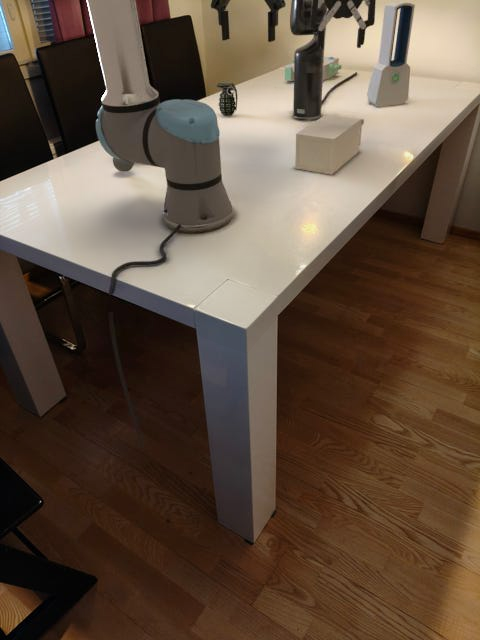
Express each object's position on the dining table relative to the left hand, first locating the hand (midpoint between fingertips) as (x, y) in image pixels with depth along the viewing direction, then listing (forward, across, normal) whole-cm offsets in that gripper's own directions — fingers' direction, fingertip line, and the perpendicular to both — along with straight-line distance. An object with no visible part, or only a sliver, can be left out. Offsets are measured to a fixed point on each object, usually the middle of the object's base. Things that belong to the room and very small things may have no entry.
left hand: (248, 40), depth 129 cm
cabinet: (+27, -26, +5) cm, 38 cm away
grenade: (+27, +21, -23) cm, 41 cm away
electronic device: (+27, -26, -55) cm, 66 cm away
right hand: (0, -27, +6) cm, 28 cm away
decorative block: (+27, +14, -85) cm, 90 cm away
